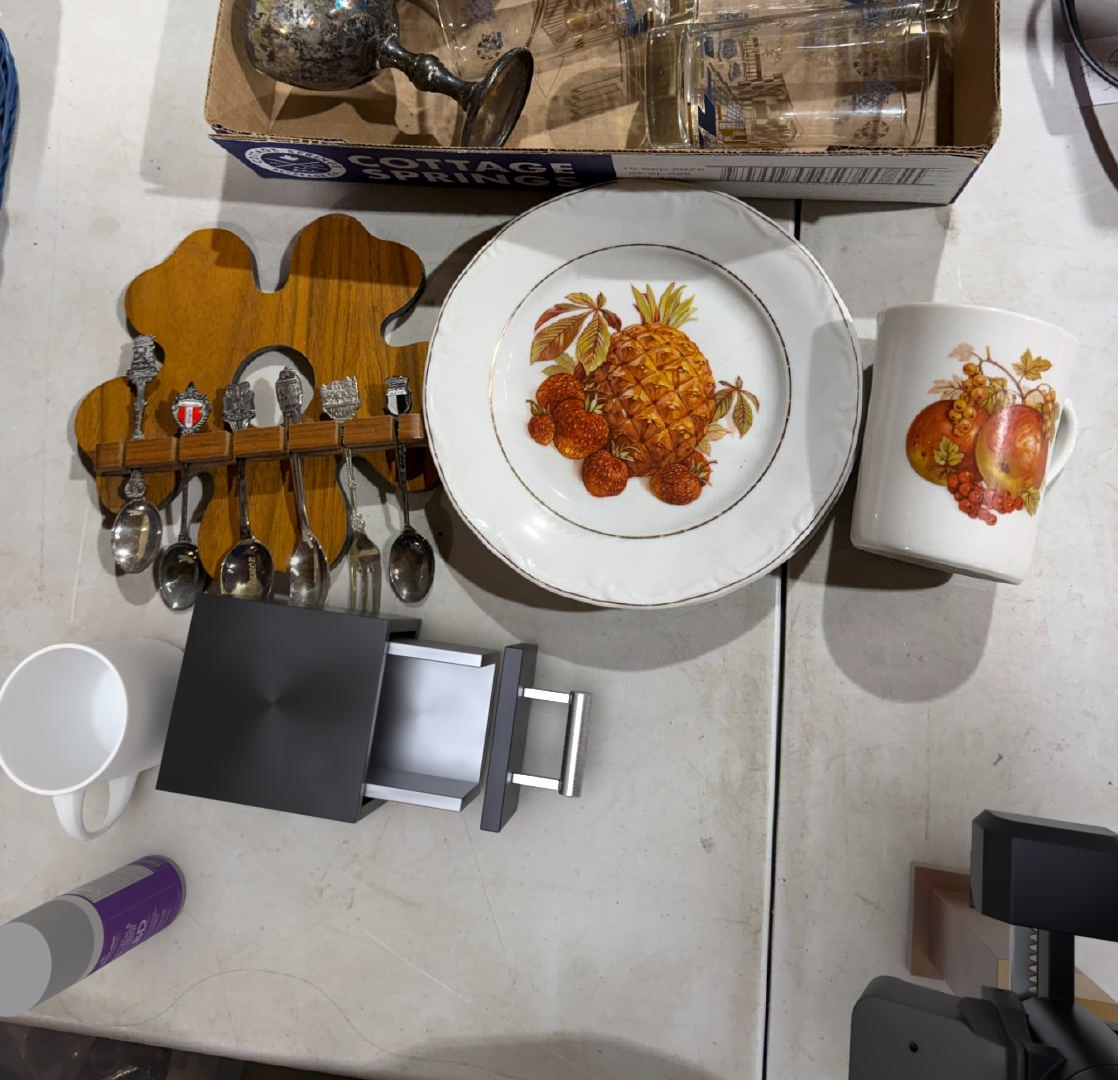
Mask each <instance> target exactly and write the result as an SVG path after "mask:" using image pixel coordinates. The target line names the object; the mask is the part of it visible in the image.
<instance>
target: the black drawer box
mask: <svg viewBox="0 0 1118 1080" xmlns="http://www.w3.org/2000/svg"><path fill="white" fill-rule="evenodd" d="M250 595H251V594H246V595H243V593H242V594H240V593H217V592H216V593H215V592H211V593H210V592H196V595H195V598H194V605H193V609H192V612H191V613H192V614H191V618H190V622H189V627H188V631H187V632H188V633H187V637H186V642H185V646H184V651H183V652H184V655H183V660H182V665H181V670H180V674H179V679H178V684H177V688H176V693H175V698H174V703H173V707H172V712H171V717H170V721H169V726H168V731H167V736H166V740H165V745H164V750H163V754H162V759H161V764H159V769H158V772H157V778H156V782H155V789H154V790H156V791H161V792H167V793H172V794H176V795H177V794H178V795H182V796H183V795H184V796H190V797H196V798H202V799H206V800H207V799H208V800H213V801H217V802H218V801H219V802H225V803H230V804H236V805H243V806H247V807H254V808H260V809H266V810H271V811H276V812H277V811H278V812H284V813H289V814H294V815H295V814H296V815H301V816H307V817H312V818H318V819H323V820H324V819H325V820H330V821H335V822H341V823H347V824H353V825H356V824H357V823H358V822H360V821H361V820H363V819H364V818H366V817H368V816H370V815H371V814H372V813H373V812H375V811H376V810H378V809H380V808H381V807H383V806H384V805H385V804H387V803H389V801H387V800H381V799H375V798H369V797H363V793H364V787H365V781H366V775H367V769H368V763H369V757H370V751H371V745H372V739H373V733H374V726H375V720H376V714H377V708H378V702H379V696H380V690H381V684H382V678H383V672H384V666H385V660H386V654H387V648H388V641H389V635H394V636H401V637H408V638H415V639H420V634H421V628H422V622H423V619H422V618H420V617H419V618H418V617H414V616H413V617H412V616H405V615H401V614H400V615H398V614H391V613H383V612H378V611H371V610H364V609H356V608H350V607H349V608H348V607H343V606H342V607H341V606H335V605H327V604H321V603H314V604H307V603H308V602H307V603H300V602H301V601H300V602H294V601H295V600H293V599H284V598H277V597H272V596H265V595H256V594H252V595H253V596H250ZM259 596H260V597H259ZM315 604H317V605H315Z"/></svg>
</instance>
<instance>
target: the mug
mask: <svg viewBox="0 0 1118 1080" xmlns="http://www.w3.org/2000/svg"><path fill="white" fill-rule="evenodd" d="M183 655H184V651H182V650H181V649H180V648H179V647H177V646H175V645H174V644H171V643H168V642H167V641H164V640H159V639H155V638H154V639H153V638H129V639H116V640H115V639H112V640H95V641H78V642H77V641H76V642H61V643H55V644H51V645H49V646H45V647H43V648H40V649H39V650H37V651H35V652H33V653H32V654H30V655H29V656H27V657H26V658H25V659H24V660H22V661H21V662H20V663H19V664H18V665H17V666H16V667H15V668H14V669H13V670H12V671H11V673H10V674H9V675H8V677H7V678H6V680H5V681H4V683H3V685H2V687H1V688H0V766H1V768H2V770H3V771H4V773H5V774H6V775H7V776H8V777H9V779H11V780H12V781H13V783H15V784H16V785H18V786H19V787H20V788H22V789H24V790H27V791H28V792H31V793H34V794H37V795H40V796H41V795H42V796H49V797H50V796H51V798H52V801H53V805H54V809H55V812H56V815H57V818H58V820H59V823H60V824H61V826H62V828H63V830H64V831H65V832H66V834H67V835H68V836H70V837H71V838H72V839H74V840H77V841H79V842H90V841H92V840H95V839H96V838H98V837H100V836H102V835H104V834H105V833H106V832H107V831H108V830H110V829H111V828H112V827H113V826H114V825H115V823H116V822H117V821H118V820H119V818H120V817H121V815H122V814H123V812H124V811H125V809H126V807H127V806H128V804H129V802H130V799H131V796H132V794H133V792H134V789H135V786H136V783H137V780H138V776H139V774H140V773H141V772H143V771H147V770H149V769H151V768H154V767H156V766H158V765H160V764H161V759H162V754H163V750H164V745H165V740H166V736H167V731H168V726H169V721H170V717H171V712H172V707H173V703H174V698H175V693H176V688H177V684H178V679H179V674H180V670H181V665H182V660H183ZM106 782H107V784H108V791H109V793H108V795H109V802H108V809H107V813H106V815H105V818H104V820H103V822H102V824H101V825H100V827H98V828H97V829H96V830H94V831H88V829H86V827H85V823H84V817H83V811H84V810H83V809H84V802H85V796H86V792H87V790H88V788H90V787H94V786H96V785H99V784H103V783H106Z"/></svg>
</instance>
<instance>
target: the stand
mask: <svg viewBox="0 0 1118 1080" xmlns="http://www.w3.org/2000/svg"><path fill="white" fill-rule="evenodd" d="M909 869H910V870H909V890H908V891H909V892H908V916H907V917H908V919H907V940H906V943H907V945H906V966H905V967H906V971H908V973H909V974H910V976H913V977H914V976H915V977H920V978H925V979H931V980H936V981H942V982H945V984H947V986H948V988H949V989H950V990H951V992H952V993H953V995H955V996H959V997H961V998H962V997H964V996H968V997H974V998H980V999H981V985H983V986H989V987H995V988H998V959H1001V960H1007V961H1009V947H1010V924H1008V923H1005V922H1002V921H999V920H996V919H993V918H990V917H988V916H985V915H982V914H981V913H980V912H979V911H978V910H977V909H974V908H970V907H969V894H970V870H967V869H960V868H954V867H948V866H941V865H936V864H931V863H924V862H918V861H910V868H909ZM1030 937H1031V938H1033V939H1034V940H1036V935H1031V936H1030ZM1030 948H1032V949H1034V950H1035V951H1036V945H1033V946H1030ZM1030 958H1031V959H1033V960H1035V961H1036V955H1034V956H1030ZM1075 972H1076V973H1082V974H1085V973H1084V972H1083V971H1082V970H1081V969H1080V968H1079V967H1078V966H1077V965H1075Z"/></svg>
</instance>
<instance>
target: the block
mask: <svg viewBox="0 0 1118 1080" xmlns="http://www.w3.org/2000/svg"><path fill="white" fill-rule="evenodd" d="M1030 969H1032V970H1034V971H1035V972H1036V966H1032V967H1030ZM1029 979H1031V980H1033V981H1034V982H1035V983H1036V976H1034V977H1029ZM998 988H1000V989H1006V990H1009V961H1007V960H1001V959H998ZM1029 989H1030V990H1032V991H1034V992H1035V993H1036V987H1032V988H1029ZM1035 998H1036V997H1035ZM1030 999H1032V998H1030ZM1075 1003H1078V1004H1080V1005H1082V1006H1084V1007H1085V1008H1087V1009H1089V1010H1090V1011H1092V1012H1093V1013H1094V1014H1096V1015H1097V1016H1098V1017H1099V1018H1100V1019H1101V1020H1105V1021H1110V1022H1116V1023H1118V1001H1116V1000H1115V999H1114V998H1113V997H1112V996H1111V995H1110V994H1108V993H1107V992H1106V991H1105V990H1104V989H1102V988H1101V987H1100V985H1099V984H1097V983H1096V982H1095V981H1094V980H1093V979H1091V978H1090V977H1089V976H1088V975H1087V974H1086V973H1084V974H1082V973H1076V972H1075Z"/></svg>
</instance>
